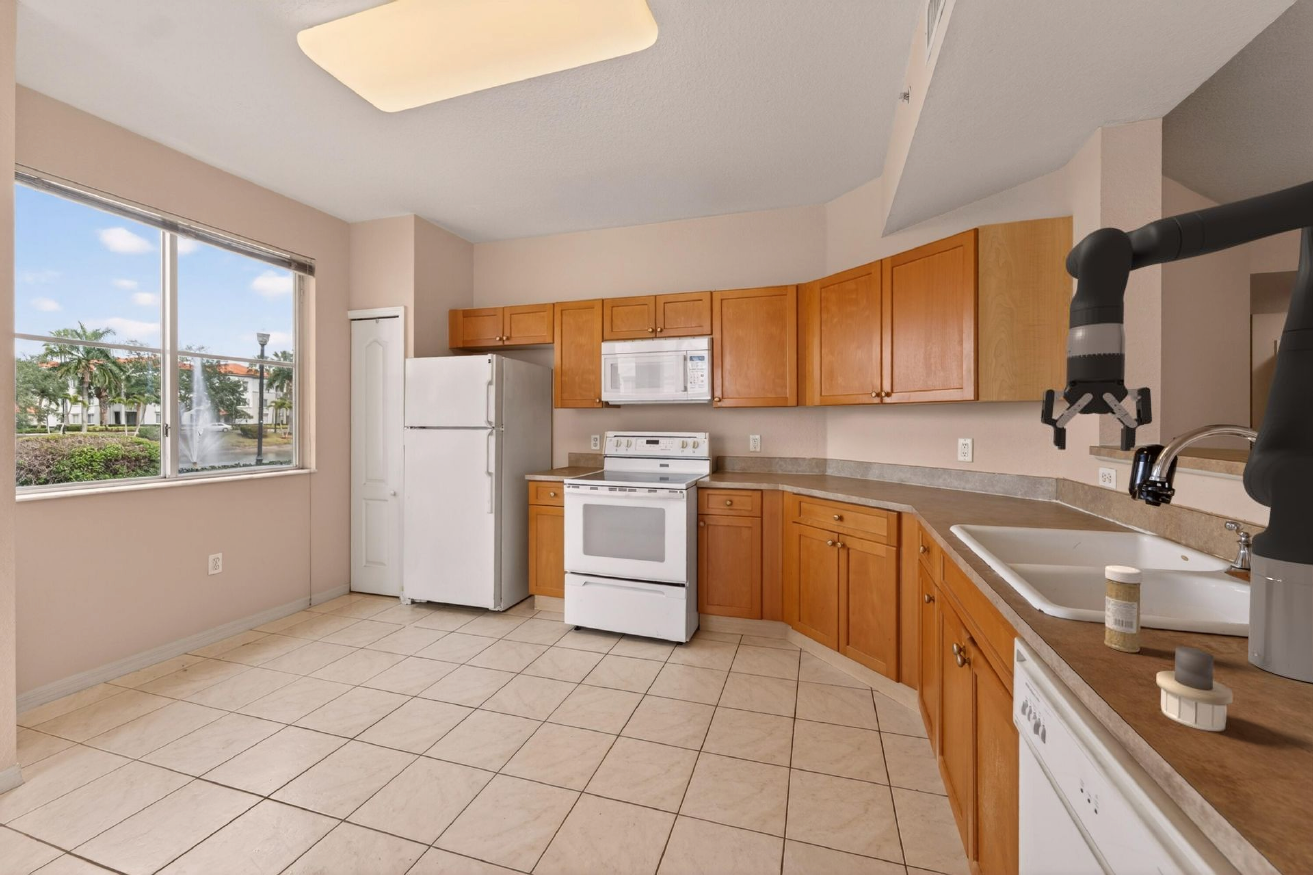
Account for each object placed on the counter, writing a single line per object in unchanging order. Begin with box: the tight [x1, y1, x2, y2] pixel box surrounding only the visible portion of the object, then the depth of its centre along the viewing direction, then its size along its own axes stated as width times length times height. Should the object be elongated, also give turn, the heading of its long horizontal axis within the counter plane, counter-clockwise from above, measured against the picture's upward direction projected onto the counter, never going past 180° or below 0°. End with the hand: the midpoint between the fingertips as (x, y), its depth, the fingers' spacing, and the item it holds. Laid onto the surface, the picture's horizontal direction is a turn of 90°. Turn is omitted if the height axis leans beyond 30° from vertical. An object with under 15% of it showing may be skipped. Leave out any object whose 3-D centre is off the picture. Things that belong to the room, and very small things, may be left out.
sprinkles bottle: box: [1103, 565, 1143, 653], centre depth 88 cm, size 5×5×13 cm
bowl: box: [1160, 688, 1228, 732], centre depth 67 cm, size 6×6×4 cm
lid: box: [1155, 646, 1234, 706], centre depth 67 cm, size 7×7×5 cm
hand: (1093, 450), depth 89 cm, fingers open, 8 cm apart
